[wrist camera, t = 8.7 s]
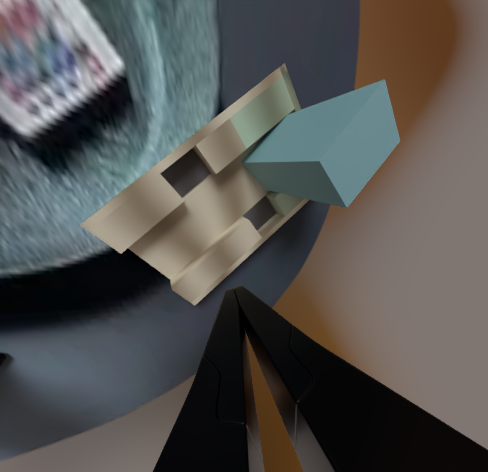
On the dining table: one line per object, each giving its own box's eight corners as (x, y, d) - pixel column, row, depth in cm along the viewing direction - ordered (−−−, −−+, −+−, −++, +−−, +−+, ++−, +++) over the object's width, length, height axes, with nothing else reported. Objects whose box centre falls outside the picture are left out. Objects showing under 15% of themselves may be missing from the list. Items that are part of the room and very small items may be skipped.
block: (265, 189, 20) (346, 208, 12) (241, 162, 18) (319, 161, 10) (296, 150, 20) (400, 140, 12) (276, 119, 18) (384, 79, 10)
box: (190, 292, 21) (194, 305, 19) (90, 216, 15) (80, 224, 13) (312, 182, 23) (327, 183, 21) (268, 75, 17) (284, 63, 15)
